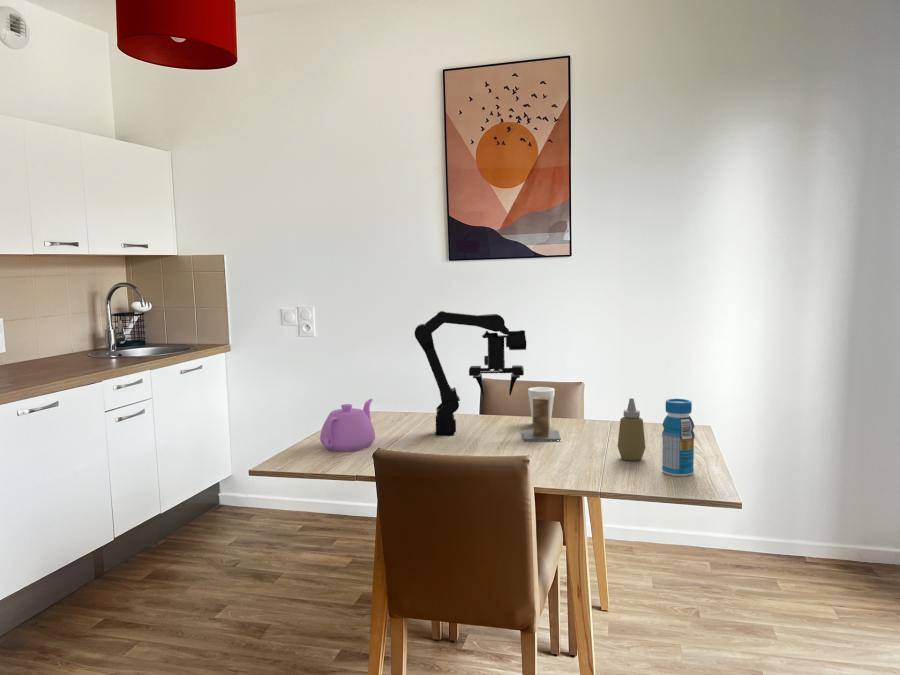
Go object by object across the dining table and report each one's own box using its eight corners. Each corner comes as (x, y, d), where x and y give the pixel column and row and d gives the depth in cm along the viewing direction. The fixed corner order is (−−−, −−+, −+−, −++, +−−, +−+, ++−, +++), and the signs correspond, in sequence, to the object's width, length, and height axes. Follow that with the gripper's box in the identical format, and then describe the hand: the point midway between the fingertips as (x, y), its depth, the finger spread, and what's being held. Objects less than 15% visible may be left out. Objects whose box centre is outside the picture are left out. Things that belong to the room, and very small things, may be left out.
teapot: (348, 457, 211) (347, 413, 210) (304, 451, 220) (302, 408, 219) (393, 439, 233) (392, 399, 232) (351, 434, 242) (350, 395, 240)
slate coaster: (524, 441, 227) (524, 438, 227) (523, 432, 239) (523, 430, 239) (560, 441, 226) (560, 438, 226) (558, 432, 238) (558, 430, 238)
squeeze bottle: (614, 455, 208) (614, 396, 206) (641, 455, 207) (642, 395, 206) (620, 462, 200) (620, 401, 198) (648, 462, 199) (649, 401, 198)
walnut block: (533, 435, 230) (532, 399, 229) (534, 432, 235) (534, 396, 234) (548, 436, 229) (547, 399, 228) (549, 433, 234) (549, 396, 233)
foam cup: (554, 421, 255) (553, 387, 254) (555, 427, 246) (555, 391, 245) (528, 421, 256) (528, 387, 255) (528, 427, 247) (528, 391, 246)
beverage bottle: (659, 475, 187) (660, 402, 185) (663, 467, 194) (664, 397, 192) (692, 478, 183) (693, 404, 181) (695, 470, 191) (696, 398, 189)
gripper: (522, 347, 245) (523, 391, 246) (470, 348, 247) (471, 391, 248) (523, 351, 234) (523, 396, 235) (468, 351, 235) (469, 397, 237)
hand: (496, 395), depth 239 cm, fingers open, 9 cm apart
